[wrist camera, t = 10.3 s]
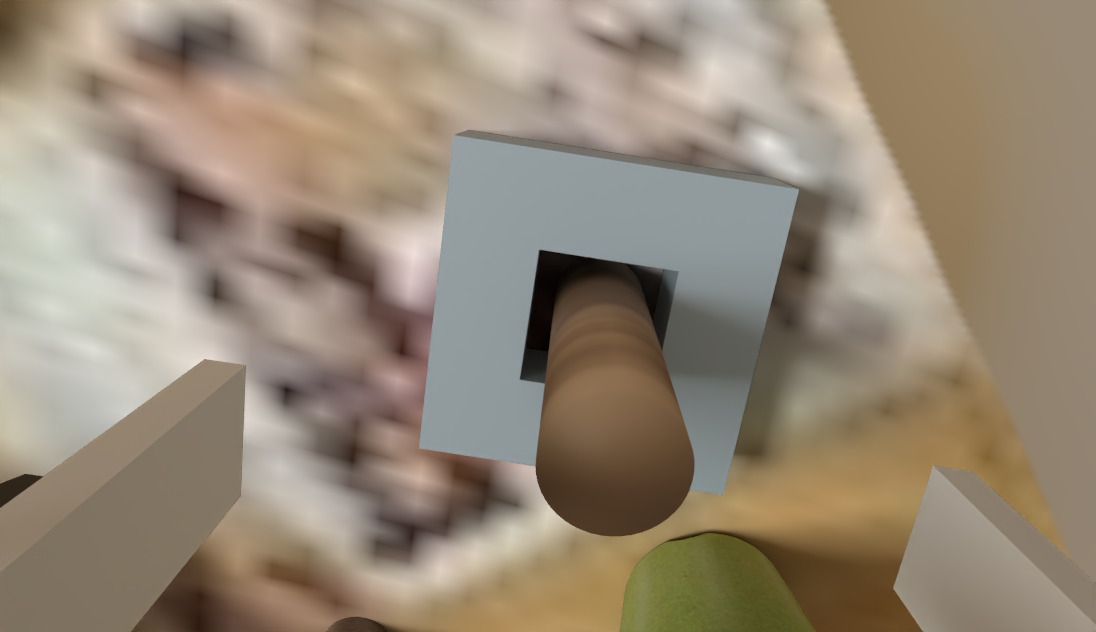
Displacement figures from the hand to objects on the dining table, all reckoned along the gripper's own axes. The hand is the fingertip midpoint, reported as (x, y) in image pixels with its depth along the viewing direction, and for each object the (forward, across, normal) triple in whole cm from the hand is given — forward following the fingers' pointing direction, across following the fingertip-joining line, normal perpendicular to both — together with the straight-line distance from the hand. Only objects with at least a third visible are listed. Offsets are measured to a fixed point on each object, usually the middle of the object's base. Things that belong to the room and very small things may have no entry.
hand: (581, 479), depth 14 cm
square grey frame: (+12, +1, 0) cm, 12 cm away
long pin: (+12, +1, 0) cm, 12 cm away
